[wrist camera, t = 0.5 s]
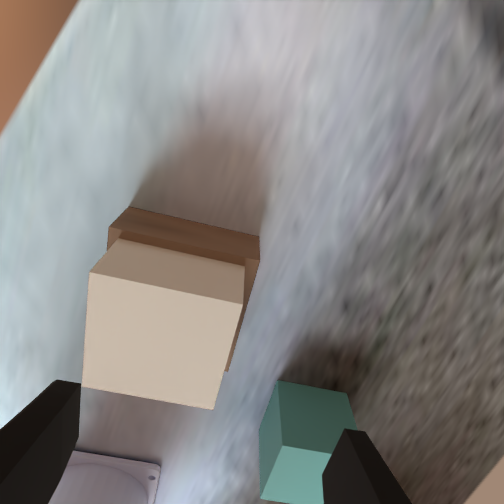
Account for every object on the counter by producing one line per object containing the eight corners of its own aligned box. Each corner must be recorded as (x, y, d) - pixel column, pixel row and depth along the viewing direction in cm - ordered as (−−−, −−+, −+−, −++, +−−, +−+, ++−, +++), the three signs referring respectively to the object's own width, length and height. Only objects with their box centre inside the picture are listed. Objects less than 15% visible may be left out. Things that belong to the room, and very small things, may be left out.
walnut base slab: (231, 334, 21) (227, 371, 18) (118, 311, 21) (98, 346, 18) (259, 234, 18) (260, 260, 16) (130, 204, 18) (108, 226, 15)
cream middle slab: (219, 360, 18) (212, 410, 15) (108, 339, 18) (81, 386, 15) (244, 266, 16) (242, 304, 13) (118, 238, 15) (89, 272, 13)
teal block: (323, 439, 25) (336, 510, 21) (259, 428, 24) (260, 498, 20) (346, 392, 23) (366, 459, 19) (277, 378, 22) (282, 445, 18)
